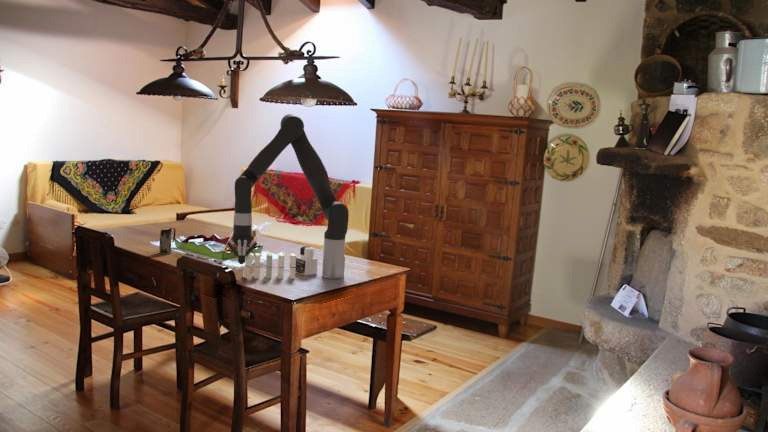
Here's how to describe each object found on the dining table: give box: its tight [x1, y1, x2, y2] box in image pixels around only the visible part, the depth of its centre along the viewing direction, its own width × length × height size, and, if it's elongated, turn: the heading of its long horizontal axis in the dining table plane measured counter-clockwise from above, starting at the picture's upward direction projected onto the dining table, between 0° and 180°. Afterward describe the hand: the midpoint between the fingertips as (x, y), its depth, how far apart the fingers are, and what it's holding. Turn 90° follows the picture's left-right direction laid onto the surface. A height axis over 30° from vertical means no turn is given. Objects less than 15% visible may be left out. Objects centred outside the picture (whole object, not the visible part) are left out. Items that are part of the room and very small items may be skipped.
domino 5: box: [288, 253, 297, 280], centre depth 277 cm, size 2×5×10 cm, turn 14°
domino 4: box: [277, 252, 285, 280], centre depth 275 cm, size 2×5×10 cm, turn 14°
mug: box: [159, 227, 176, 255], centre depth 309 cm, size 8×6×12 cm
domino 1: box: [242, 252, 255, 279], centre depth 272 cm, size 2×5×10 cm, turn 14°
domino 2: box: [253, 252, 261, 280], centre depth 273 cm, size 2×5×10 cm, turn 14°
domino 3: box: [265, 252, 273, 280], centre depth 274 cm, size 2×5×10 cm, turn 14°
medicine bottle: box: [295, 246, 319, 276], centre depth 286 cm, size 7×7×12 cm
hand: (241, 263), depth 271 cm, fingers closed
